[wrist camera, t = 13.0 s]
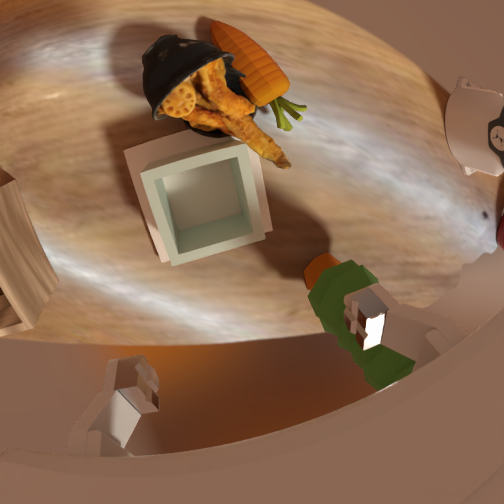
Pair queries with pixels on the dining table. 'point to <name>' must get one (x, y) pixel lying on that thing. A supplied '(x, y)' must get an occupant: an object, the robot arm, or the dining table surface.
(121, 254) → the dining table surface
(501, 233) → the canister
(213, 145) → the open rectangular box
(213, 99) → the bowl of food
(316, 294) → the decorative tree
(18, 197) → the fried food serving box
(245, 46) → the carrot
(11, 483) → the robot arm
